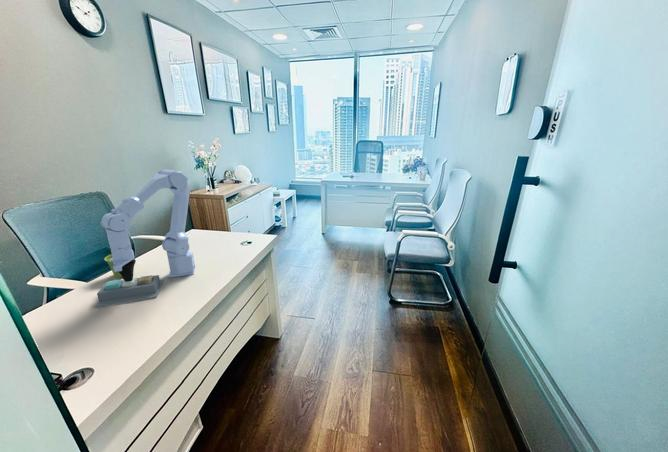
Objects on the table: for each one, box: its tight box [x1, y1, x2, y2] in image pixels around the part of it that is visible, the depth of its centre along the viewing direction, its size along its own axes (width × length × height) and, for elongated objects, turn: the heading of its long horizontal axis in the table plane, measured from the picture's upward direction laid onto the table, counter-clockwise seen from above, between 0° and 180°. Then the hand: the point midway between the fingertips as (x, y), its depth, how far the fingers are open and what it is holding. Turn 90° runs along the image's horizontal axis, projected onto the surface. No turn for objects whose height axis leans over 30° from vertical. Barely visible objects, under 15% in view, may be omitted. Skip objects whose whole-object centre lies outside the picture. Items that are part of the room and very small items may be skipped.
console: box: [94, 274, 164, 309], centre depth 98 cm, size 18×13×4 cm
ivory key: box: [122, 276, 138, 287], centre depth 97 cm, size 4×4×4 cm
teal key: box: [105, 279, 121, 290], centre depth 96 cm, size 4×4×4 cm
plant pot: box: [104, 253, 123, 279], centre depth 110 cm, size 9×9×9 cm
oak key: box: [138, 275, 153, 285], centre depth 99 cm, size 4×4×4 cm
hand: (129, 280), depth 97 cm, fingers closed, pressing on ivory key
